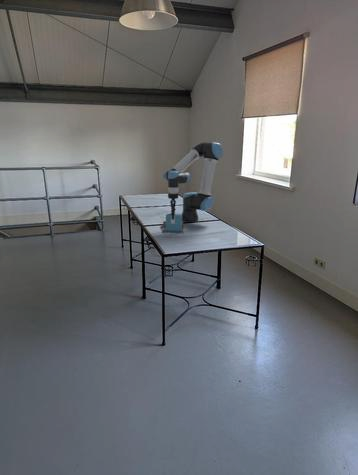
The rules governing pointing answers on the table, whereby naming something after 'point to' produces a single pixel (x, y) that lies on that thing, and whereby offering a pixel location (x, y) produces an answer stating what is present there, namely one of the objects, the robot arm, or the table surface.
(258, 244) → the table surface
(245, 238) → the table surface
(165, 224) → the walnut box
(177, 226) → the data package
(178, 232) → the charcoal mat
